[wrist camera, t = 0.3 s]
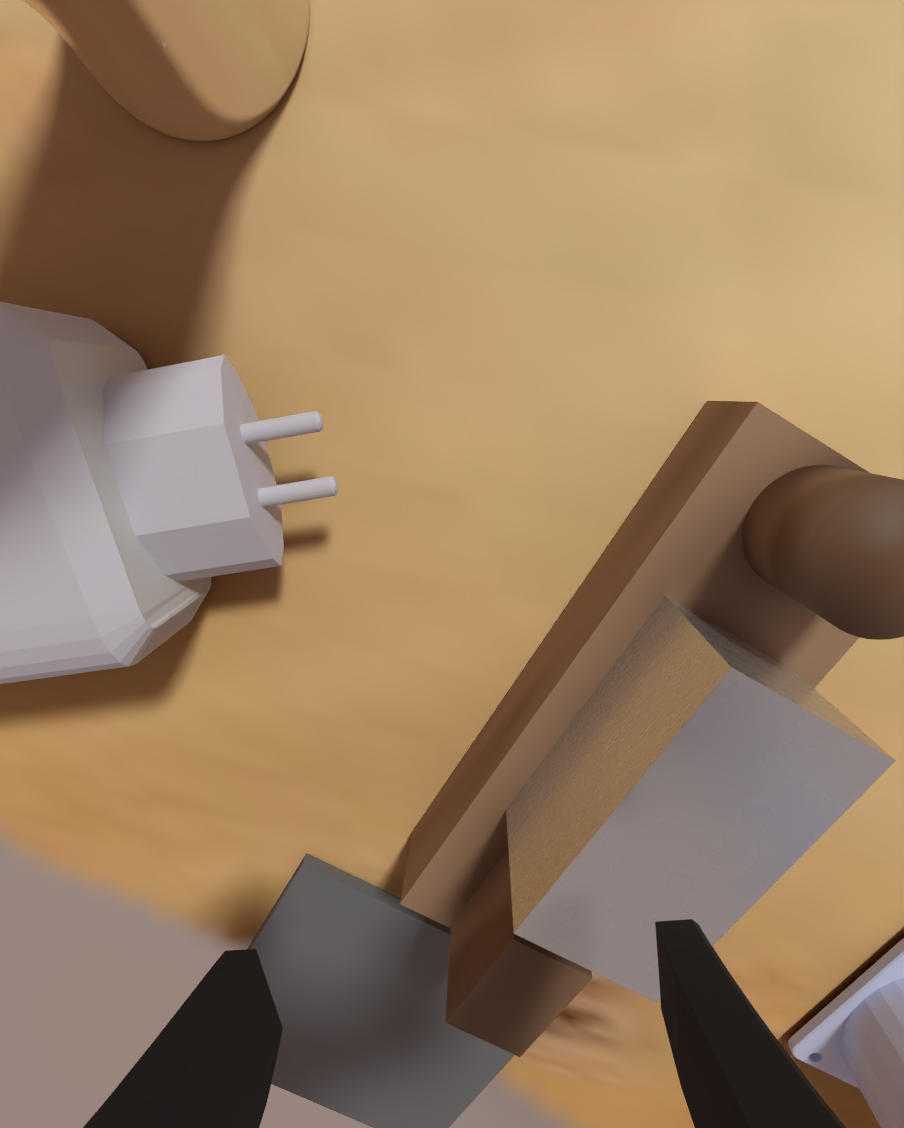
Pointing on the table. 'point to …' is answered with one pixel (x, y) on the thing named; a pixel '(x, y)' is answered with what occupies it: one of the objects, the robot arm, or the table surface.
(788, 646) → the plane body
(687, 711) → the lever cap
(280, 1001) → the mat
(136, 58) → the beer glass
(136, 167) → the table surface
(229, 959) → the robot arm
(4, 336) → the charger
